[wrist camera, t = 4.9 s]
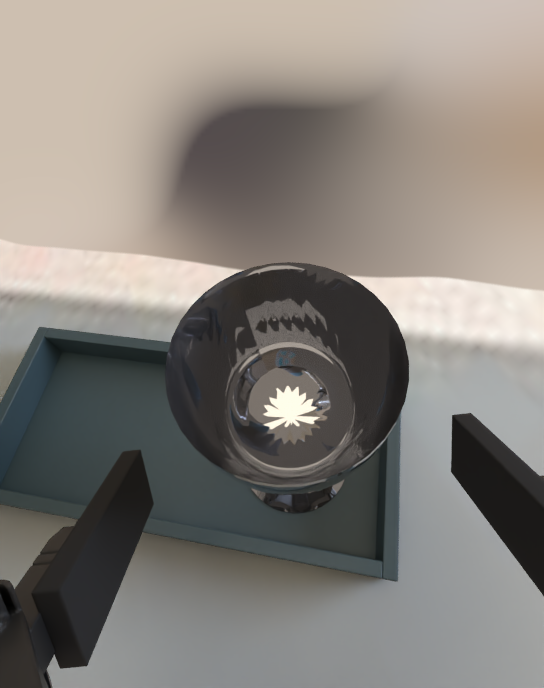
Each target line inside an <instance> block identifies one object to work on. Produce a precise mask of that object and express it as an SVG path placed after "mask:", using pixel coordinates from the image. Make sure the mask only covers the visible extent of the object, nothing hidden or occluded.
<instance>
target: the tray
mask: <svg viewBox="0 0 544 688" xmlns="http://www.w3.org/2000/svg"><path fill="white" fill-rule="evenodd" d="M170 343H171V342H163V341H154V340H146V339H137V338H129V337H121V336H112V335H104V334H95V333H87V332H79V331H70V330H62V329H53V328H44V327H39V328H38V330H37V332H36V334H35V336H34V338H33V340H32V342H31V344H30V346H29V348H28V350H27V352H26V354H25V356H24V358H23V360H22V362H21V364H20V366H19V368H18V370H17V372H16V374H15V375H14V377H13V379H12V381H11V383H10V385H9V387H8V389H7V391H6V393H5V395H4V397H3V399H2V401H1V403H0V504H2V505H7V506H12V507H17V508H23V509H28V510H33V511H38V512H43V513H48V514H53V515H58V516H64V517H69V518H74V519H79V518H80V517H81V515H82V514H83V512H84V511H85V509H86V507H87V506H88V504H89V503H90V501H91V500H92V498H93V497H94V495H95V494H96V492H97V490H98V489H99V487H100V486H101V484H102V483H103V481H104V480H105V478H106V477H107V475H108V473H109V472H110V470H111V469H112V467H113V466H114V464H115V463H116V461H117V460H118V458H119V456H120V455H121V453H122V452H123V451H131V450H140V449H141V453H142V457H143V461H144V465H145V469H146V473H147V477H148V482H149V486H150V490H151V494H152V498H153V502H154V505H153V507H152V510H151V512H150V514H149V517H148V519H147V522H146V524H145V527H144V529H143V531H142V532H146V533H151V534H156V535H161V536H166V537H171V538H176V539H181V540H186V541H192V542H197V543H202V544H207V545H212V546H217V547H222V548H227V549H233V550H238V551H243V552H248V553H253V554H258V555H263V556H268V557H274V558H279V559H284V560H289V561H294V562H299V563H304V564H309V565H315V566H320V567H325V568H330V569H335V570H340V571H345V572H350V573H356V574H361V575H366V576H371V577H376V578H382V579H386V580H391V581H398V544H399V488H400V431H401V412H400V414H399V417H398V419H397V422H396V424H395V426H394V427H393V429H392V430H391V432H390V433H389V435H388V436H387V438H386V439H385V441H384V442H383V444H382V445H381V446H380V448H379V449H378V451H377V452H376V453H375V454H374V455H373V456H372V457H371V458H370V459H369V460H368V461H367V462H366V463H365V464H364V465H363V466H362V467H360V468H359V469H358V470H357V471H356V472H354V473H353V474H352V475H350V476H349V477H347V478H346V479H345V481H344V483H343V486H342V487H341V489H340V490H339V492H338V493H337V495H336V496H335V497H334V498H333V499H332V500H331V501H330V502H328V503H327V504H325V505H324V506H322V507H321V508H318V509H316V510H314V511H310V512H306V513H295V514H292V513H286V512H282V511H279V510H276V509H273V508H272V507H270V506H268V505H266V504H265V503H264V502H262V501H261V500H260V499H259V498H258V497H257V496H256V495H255V494H254V492H253V491H252V490H251V488H249V487H246V486H244V485H242V484H240V483H238V482H237V481H235V480H233V479H232V478H230V477H228V476H226V475H225V474H223V473H222V472H220V471H218V470H217V469H216V468H215V467H214V466H213V465H212V464H210V463H209V462H208V461H207V460H206V459H205V458H204V457H202V456H201V455H200V454H199V453H198V452H197V451H196V450H195V448H194V447H193V446H192V445H191V443H190V442H189V441H188V439H187V438H186V437H185V436H184V434H183V433H182V432H181V430H180V428H179V426H178V424H177V422H176V420H175V418H174V416H173V414H172V412H171V408H170V405H169V401H168V397H167V394H166V383H165V368H166V359H167V353H168V350H169V347H170Z"/></svg>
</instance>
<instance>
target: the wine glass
mask: <svg viewBox="0 0 544 688" xmlns="http://www.w3.org/2000/svg"><path fill="white" fill-rule="evenodd" d="M165 383H166V394H167V397H168V401H169V405H170V408H171V412H172V414H173V416H174V418H175V420H176V422H177V424H178V426H179V428H180V430H181V432H182V433H183V434H184V436H185V437H186V438H187V439H188V441H189V442H190V443H191V445H192V446H193V447H194V448H195V450H196V451H197V452H198V453H199V454H200V455H201V456H202V457H204V458H205V459H206V460H207V461H208V462H209V463H210V464H212V465H213V466H214V467H215V468H216V469H217V470H218V471H220V472H222V473H223V474H225V475H226V476H228V477H230V478H232V479H233V480H235V481H237V482H238V483H240V484H242V485H244V486H246V487H249V488H251V490H252V491H253V492H254V494H255V495H256V496H257V497H258V498H259V499H260V500H261V501H262V502H264V503H265V504H266V505H268V506H270V507H272V508H273V509H276V510H279V511H282V512H286V513H292V514H295V513H306V512H310V511H314V510H316V509H318V508H321V507H322V506H324V505H325V504H327V503H328V502H330V501H331V500H332V499H333V498H334V497H335V496H336V495H337V493H338V492H339V490H340V489H341V487H342V486H343V483H344V481H345V479H346V478H347V477H349V476H350V475H352V474H353V473H354V472H356V471H357V470H358V469H359V468H360V467H362V466H363V465H364V464H365V463H366V462H367V461H368V460H369V459H370V458H371V457H372V456H373V455H374V454H375V453H376V452H377V451H378V449H379V448H380V446H381V445H382V444H383V442H384V441H385V439H386V438H387V436H388V435H389V433H390V432H391V430H392V429H393V427H394V426H395V424H396V422H397V419H398V417H399V414H400V412H401V409H402V407H403V405H404V402H405V398H406V393H407V388H408V383H409V360H408V355H407V350H406V346H405V341H404V339H403V336H402V334H401V332H400V329H399V327H398V324H397V323H396V321H395V320H394V318H393V317H392V315H391V313H390V312H389V310H388V309H387V308H386V306H385V305H384V304H383V303H382V302H381V301H380V300H379V299H378V298H377V297H376V296H375V295H374V294H373V293H372V292H371V291H369V290H368V289H367V288H365V287H364V286H363V285H361V284H360V283H359V282H357V281H355V280H353V279H351V278H350V277H348V276H346V275H344V274H342V273H339V272H336V271H334V270H331V269H328V268H325V267H320V266H316V265H311V264H304V263H289V262H288V263H274V264H267V265H262V266H257V267H253V268H250V269H247V270H244V271H242V272H239V273H236V274H234V275H232V276H230V277H228V278H226V279H224V280H223V281H221V282H219V283H218V284H216V285H215V286H213V287H212V288H211V289H209V290H208V291H207V292H205V293H204V294H203V295H202V296H201V297H200V298H199V299H198V300H197V301H196V302H195V303H194V304H193V305H192V306H191V307H190V309H189V310H188V311H187V313H186V314H185V315H184V317H183V318H182V319H181V321H180V323H179V325H178V327H177V329H176V331H175V333H174V335H173V337H172V340H171V343H170V347H169V350H168V353H167V359H166V368H165Z"/></svg>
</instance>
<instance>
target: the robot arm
mask: <svg viewBox="0 0 544 688" xmlns="http://www.w3.org/2000/svg"><path fill="white" fill-rule="evenodd" d="M451 472H452V474H453V475H454V476H455V478H456V479H457V480H458V482H459V483H460V484H461V486H462V487H463V488H464V490H465V491H466V492H467V494H468V495H469V496H470V498H471V499H472V500H473V502H474V503H475V505H476V506H477V507H478V509H479V510H480V511H481V513H482V514H483V515H484V517H485V518H486V519H487V521H488V522H489V523H490V525H491V526H492V527H493V529H494V530H495V531H496V533H497V534H498V535H499V537H500V538H501V539H502V541H503V542H504V543H505V545H506V546H507V547H508V549H509V550H510V551H511V553H512V554H513V555H514V557H515V558H516V559H517V561H518V562H519V563H520V565H521V566H522V567H523V569H524V570H525V571H526V573H527V574H528V575H529V577H530V578H531V579H532V581H533V582H534V583H535V585H536V586H537V588H538V589H539V590H540V592H541V593H542V594H543V596H544V476H539V475H538V474H537V473H536V472H534V471H533V470H532V469H531V468H530V467H529V466H528V465H527V464H526V463H525V462H524V461H522V460H521V459H520V458H519V457H518V456H517V455H516V454H515V453H514V452H513V451H512V450H510V449H509V448H508V447H507V446H506V445H505V444H504V443H503V442H502V441H501V440H500V439H499V438H497V437H496V436H495V435H494V434H493V433H492V432H491V431H490V430H489V429H488V428H487V427H485V426H484V425H483V424H482V423H481V422H480V421H479V420H478V419H477V418H476V417H475V416H473V415H472V414H471V413H468V414H459V415H452V461H451ZM153 505H154V502H153V498H152V494H151V490H150V486H149V482H148V477H147V473H146V469H145V465H144V461H143V457H142V453H141V449H140V450H131V451H123V452H122V453H121V455H120V456H119V458H118V460H117V461H116V463H115V464H114V466H113V467H112V469H111V470H110V472H109V473H108V475H107V477H106V478H105V480H104V481H103V483H102V484H101V486H100V487H99V489H98V490H97V492H96V494H95V495H94V497H93V498H92V500H91V501H90V503H89V504H88V506H87V507H86V509H85V511H84V512H83V514H82V515H81V517H80V518H79V520H78V521H77V523H76V524H75V526H71V527H63V528H62V529H61V530H60V531H59V532H57V533H56V534H55V535H54V536H53V537H52V538H51V539H50V540H49V541H48V542H47V544H46V545H45V547H44V548H43V550H42V551H41V552H40V555H38V557H37V558H36V560H35V561H34V562H33V566H31V567H30V568H29V570H28V571H27V572H26V574H25V575H24V577H23V578H22V580H21V581H20V582H19V584H18V585H17V587H16V588H15V590H14V587H13V585H12V584H11V583H10V581H7V580H0V688H52V684H51V680H50V677H49V674H48V672H47V667H48V665H49V663H50V661H51V659H52V657H53V655H54V654H55V657H56V659H57V662H58V664H59V667H60V668H71V667H81V666H87V665H88V662H89V660H90V657H91V655H92V653H93V650H94V648H95V645H96V643H97V640H98V638H99V636H100V633H101V631H102V628H103V626H104V623H105V621H106V619H107V616H108V614H109V611H110V609H111V607H112V604H113V602H114V599H115V597H116V594H117V592H118V590H119V587H120V585H121V582H122V580H123V577H124V575H125V573H126V570H127V568H128V565H129V563H130V560H131V558H132V556H133V553H134V551H135V548H136V546H137V544H138V541H139V539H140V536H141V534H142V531H143V529H144V527H145V524H146V522H147V519H148V517H149V514H150V512H151V510H152V507H153Z"/></svg>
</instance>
